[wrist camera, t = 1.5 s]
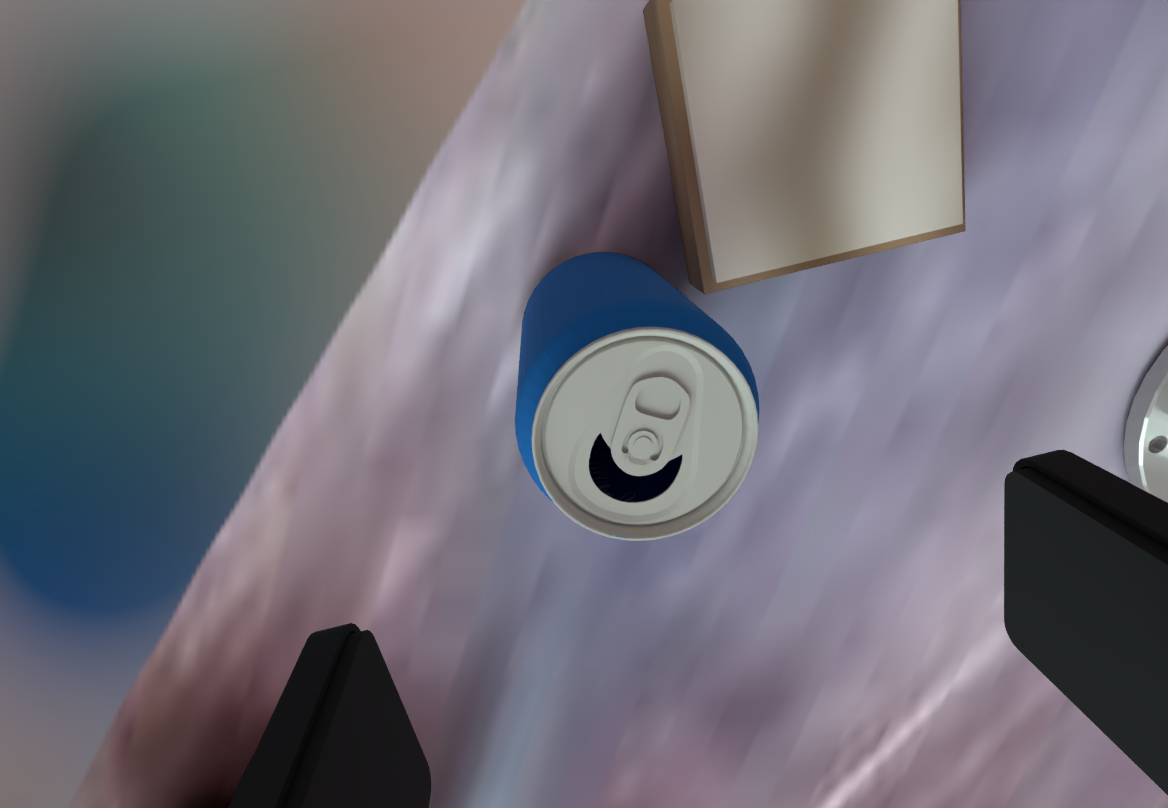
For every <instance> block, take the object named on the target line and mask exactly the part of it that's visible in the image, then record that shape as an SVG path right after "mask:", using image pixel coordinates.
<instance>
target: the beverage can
mask: <svg viewBox="0 0 1168 808" xmlns="http://www.w3.org/2000/svg"><path fill="white" fill-rule="evenodd" d="M758 422H759V398H758V391H757V386H756V382H755V378H754V375H753V372H752V369H751V367H750V364H749V362H748V360H747V359H746V357H745V355H744V353H743V351H742V350H741V348H740V347H739V346H738V344H737V343H736V342H735V340H734V339H733V338H732V337H731V336H730V335H729V334H728V333H727V332H726V331H725V330H724V329H723V328H722V327H721V326H720V325H718V324H717V323H716V322H715V321H714V320H713V319H711V318H710V317H709V316H708V315H707V314H705V313H704V312H703V311H702V310H701V309H699V308H698V307H697V306H696V305H695V304H693V303H692V302H691V301H690V300H689V299H687V298H686V297H685V296H684V295H683V294H682V293H680V292H679V291H678V290H677V289H676V288H674V287H673V286H672V285H671V284H670V283H668V282H667V281H666V280H665V279H664V278H662V277H661V276H660V275H659V274H658V273H657V272H655V271H654V270H653V269H651V268H650V267H649V266H647V265H646V264H644V263H642V262H641V261H639V260H637V259H634V258H632V257H629V256H626V255H622V254H618V253H610V252H596V253H589V254H584V255H581V256H577V257H574V258H572V259H570V260H568V261H566V262H564V263H562V264H560V265H559V266H557V267H556V268H554V269H553V270H552V271H551V272H550V273H548V274H547V275H546V276H545V277H544V278H543V279H542V280H541V282H540V283H539V284H538V285H537V287H536V288H535V290H534V291H533V293H532V295H531V297H530V299H529V301H528V303H527V306H526V309H525V312H524V317H523V321H522V334H521V347H520V361H519V374H518V387H517V400H516V414H515V427H516V437H517V442H518V447H519V451H520V453H521V456H522V459H523V462H524V464H525V466H526V468H527V470H528V472H529V474H530V475H531V477H532V479H533V480H534V481H535V483H536V484H537V486H538V487H539V488H540V490H541V491H542V492H543V493H544V494H545V495H546V496H547V497H548V498H549V499H550V500H551V501H552V502H553V503H555V505H556V506H557V507H558V508H559V509H560V510H561V511H562V512H563V513H564V514H565V515H567V516H568V517H569V518H571V519H572V520H573V521H574V522H576V523H578V524H579V525H581V526H583V527H584V528H586V529H588V530H591V531H593V532H595V533H597V534H600V535H604V536H607V537H610V538H616V539H622V540H633V541H643V540H655V539H660V538H666V537H669V536H673V535H676V534H679V533H682V532H684V531H687V530H689V529H691V528H693V527H695V526H697V525H699V524H700V523H702V522H704V521H706V520H707V519H708V518H710V517H711V516H713V515H714V514H715V513H717V512H718V511H719V510H720V509H721V508H722V507H723V506H724V505H725V504H726V503H727V502H728V501H729V500H730V499H731V498H732V497H733V495H734V494H735V493H736V492H737V490H738V489H739V487H740V486H741V484H742V483H743V481H744V479H745V477H746V475H747V473H748V471H749V469H750V467H751V464H752V461H753V459H754V456H755V451H756V447H757V442H758V428H759V427H758Z"/></svg>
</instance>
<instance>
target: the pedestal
mask: <svg viewBox="0 0 1168 808" xmlns="http://www.w3.org/2000/svg"><path fill="white" fill-rule="evenodd" d="M643 13H644V19H645V25H646V31H647V37H648V42H649V48H650V54H651V60H652V66H653V72H654V78H655V83H656V89H657V95H658V101H659V107H660V113H661V119H662V124H663V130H664V136H665V142H666V148H667V154H668V160H669V166H670V171H671V177H672V183H673V189H674V195H675V201H676V207H677V212H678V218H679V224H680V230H681V236H682V242H683V248H684V253H685V259H686V265H687V271H688V277H689V283H690V284H692V285H693V286H694V287H696V288H697V289H698V290H700V291H701V292H703V293H704V294H706V293H710V292H714V291H718V290H722V289H727V288H731V287H735V286H739V285H743V284H747V283H752V282H756V281H760V280H764V279H768V278H772V277H776V276H781V275H785V274H789V273H793V272H797V271H801V270H806V269H810V268H814V267H818V266H822V265H826V264H830V263H835V262H839V261H843V260H847V259H851V258H855V257H859V256H864V255H868V254H872V253H876V252H880V251H884V250H889V249H893V248H897V247H901V246H905V245H909V244H913V243H918V242H922V241H926V240H930V239H934V238H938V237H942V236H947V235H951V234H955V233H959V232H963V231H965V193H964V146H963V100H962V53H961V7H960V0H650V1H649V3H648V4H647V5H646V7H645V8H644V10H643Z"/></svg>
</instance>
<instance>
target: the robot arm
mask: <svg viewBox="0 0 1168 808" xmlns="http://www.w3.org/2000/svg"><path fill="white" fill-rule="evenodd" d="M1124 456H1125V467H1126V471H1127V474H1128V476H1129V479H1130V482H1131V483H1129V482H1127V481H1125V480H1123V479H1121V478H1119V477H1117V476H1115V475H1113V474H1112V473H1110V472H1108V471H1106V470H1104V469H1102V468H1100V467H1098V466H1096V465H1094V464H1092V463H1090V462H1088V461H1086V460H1085V459H1083V458H1081V457H1079V456H1077V455H1075V454H1073V453H1071V452H1068V451H1065V450H1056V451H1052V452H1048V453H1044V454H1040V455H1036V456H1032V457H1028V458H1024V459H1020V460H1019V461H1017V462H1016V464H1015V465H1014V467H1013V472H1010V473H1009V474H1007V476H1006V478H1005V506H1004V622H1005V628H1006V631H1007V633H1008V635H1009V637H1010V639H1011V641H1012V642H1013V644H1014V645H1015V646H1016V648H1017V649H1018V650H1019V651H1020V652H1021V653H1022V654H1023V655H1024V656H1025V657H1026V658H1027V659H1028V660H1030V661H1031V662H1032V663H1033V664H1034V665H1035V666H1036V667H1037V668H1038V669H1039V670H1040V671H1041V672H1042V673H1043V674H1044V675H1045V676H1046V677H1047V678H1048V679H1049V680H1050V681H1051V682H1052V683H1053V684H1054V685H1055V686H1056V687H1057V688H1058V689H1059V690H1060V691H1061V692H1062V693H1063V694H1064V695H1065V696H1066V697H1067V698H1069V699H1070V700H1071V701H1072V702H1073V703H1074V704H1075V705H1076V706H1077V707H1078V708H1079V709H1080V710H1081V711H1082V712H1083V713H1084V714H1085V715H1086V716H1087V717H1088V718H1089V719H1090V720H1091V721H1092V722H1093V723H1094V724H1095V725H1096V726H1097V727H1098V728H1099V729H1100V730H1101V731H1102V732H1103V733H1104V734H1105V735H1107V736H1108V737H1109V738H1110V739H1111V740H1112V741H1113V742H1114V743H1115V744H1116V745H1117V746H1118V747H1119V748H1120V749H1121V750H1122V751H1123V752H1124V753H1125V754H1126V755H1127V756H1128V757H1129V758H1130V759H1131V760H1132V761H1133V762H1134V763H1135V764H1136V765H1137V766H1138V767H1139V768H1140V769H1141V770H1142V771H1143V772H1144V773H1146V774H1147V775H1148V776H1149V777H1150V778H1151V779H1152V780H1153V781H1154V782H1155V783H1156V784H1157V785H1158V786H1159V787H1160V788H1161V789H1162V790H1163V791H1164V792H1165V793H1166V794H1167V795H1168V346H1167V347H1166V348H1165V349H1164V350H1163V351H1162V353H1161V354H1160V355H1159V357H1158V358H1157V360H1156V361H1155V362H1154V364H1153V365H1152V367H1151V368H1150V370H1149V371H1148V372H1147V374H1146V376H1145V378H1144V380H1143V382H1142V384H1141V386H1140V388H1139V390H1138V392H1137V394H1136V396H1135V398H1134V400H1133V404H1132V407H1131V410H1130V413H1129V416H1128V420H1127V423H1126V431H1125V439H1124ZM430 794H431V776H430V770H429V766H428V763H427V760H426V758H425V755H424V753H423V751H422V748H421V746H420V744H419V741H418V739H417V737H416V734H415V732H414V729H413V727H412V725H411V722H410V720H409V718H408V715H407V713H406V711H405V708H404V706H403V704H402V701H401V699H400V696H399V694H398V692H397V689H396V687H395V685H394V682H393V680H392V678H391V675H390V673H389V671H388V668H387V666H386V663H385V661H384V659H383V656H382V654H381V652H380V649H379V647H378V645H377V642H376V640H375V638H374V636H373V634H372V633H371V632H370V631H369V630H365V631H360V629H359V628H358V627H357V626H356V625H355V624H352V623H350V624H346V625H342V626H338V627H334V628H330V629H326V630H321V631H317V632H314V633H312V634H311V635H310V636H309V638H308V639H307V641H306V643H305V646H304V648H303V650H302V652H301V654H300V656H299V659H298V661H297V663H296V665H295V667H294V669H293V671H292V674H291V676H290V678H289V680H288V682H287V684H286V687H285V689H284V691H283V693H282V695H281V697H280V700H279V702H278V704H277V706H276V708H275V710H274V713H273V715H272V717H271V719H270V721H269V723H268V725H267V728H266V730H265V732H264V734H263V736H262V738H261V741H260V743H259V745H258V747H257V749H256V751H255V753H254V755H253V757H252V758H251V760H250V761H249V763H248V766H247V768H246V770H245V772H244V774H243V776H242V778H241V781H240V783H239V785H238V787H237V789H236V791H235V794H234V796H233V798H232V800H231V802H230V804H229V806H228V808H428V807H429V801H430Z"/></svg>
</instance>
